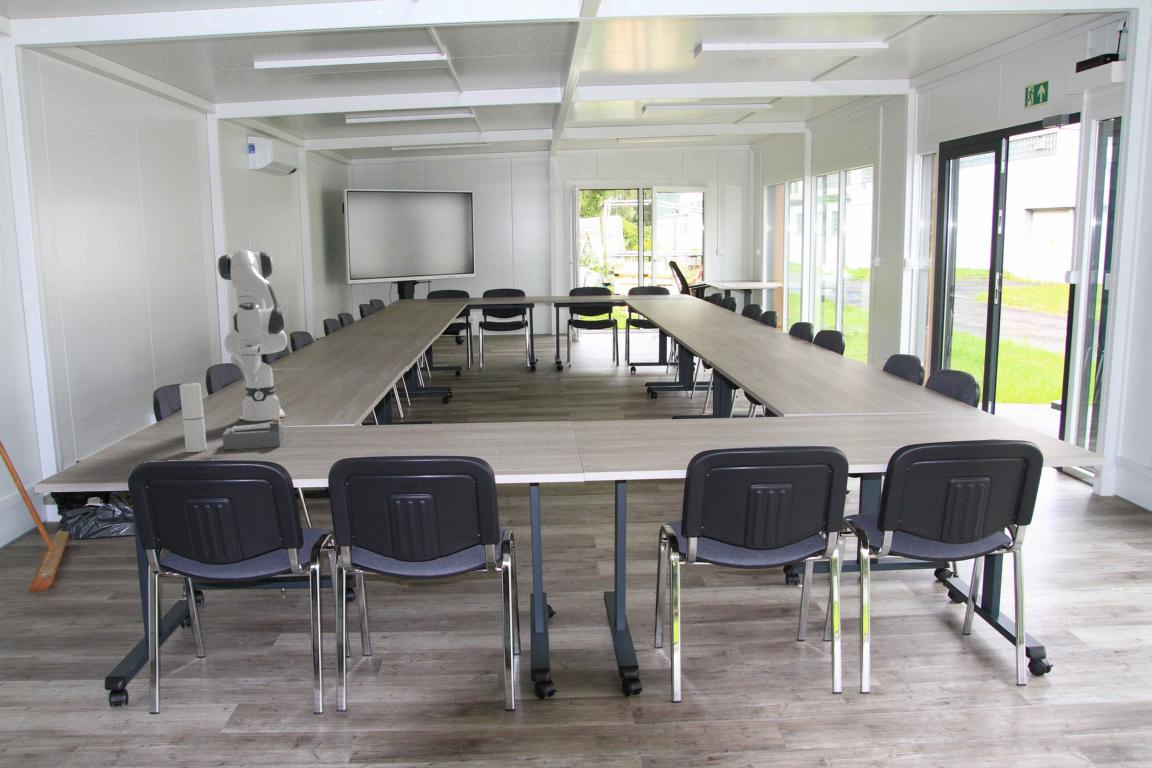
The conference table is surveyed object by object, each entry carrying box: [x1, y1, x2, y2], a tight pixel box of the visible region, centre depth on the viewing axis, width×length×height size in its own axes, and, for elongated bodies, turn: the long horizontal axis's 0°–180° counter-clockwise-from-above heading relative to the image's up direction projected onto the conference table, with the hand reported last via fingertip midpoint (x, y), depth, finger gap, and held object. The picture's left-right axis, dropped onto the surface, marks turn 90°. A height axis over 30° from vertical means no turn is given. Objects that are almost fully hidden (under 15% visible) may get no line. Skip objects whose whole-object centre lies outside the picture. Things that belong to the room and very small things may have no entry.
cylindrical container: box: [179, 382, 208, 453], centre depth 320 cm, size 7×7×25 cm
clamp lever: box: [231, 418, 282, 431], centre depth 328 cm, size 4×17×3 cm, turn 103°
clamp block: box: [221, 422, 284, 450], centre depth 329 cm, size 11×20×9 cm, turn 103°
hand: (253, 381), depth 331 cm, fingers closed
